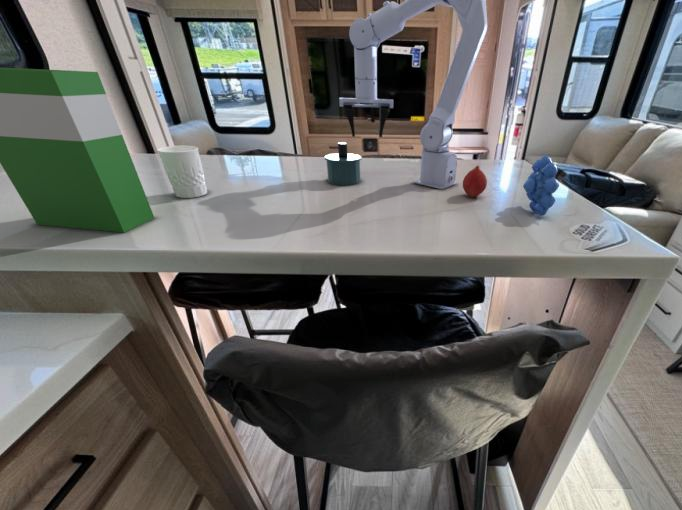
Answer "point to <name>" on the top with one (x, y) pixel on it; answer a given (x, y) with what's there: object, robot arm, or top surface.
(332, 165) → the pot
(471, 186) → the onion
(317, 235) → the top surface
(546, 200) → the grapes
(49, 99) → the hardback book
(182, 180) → the white cup
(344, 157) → the lid
